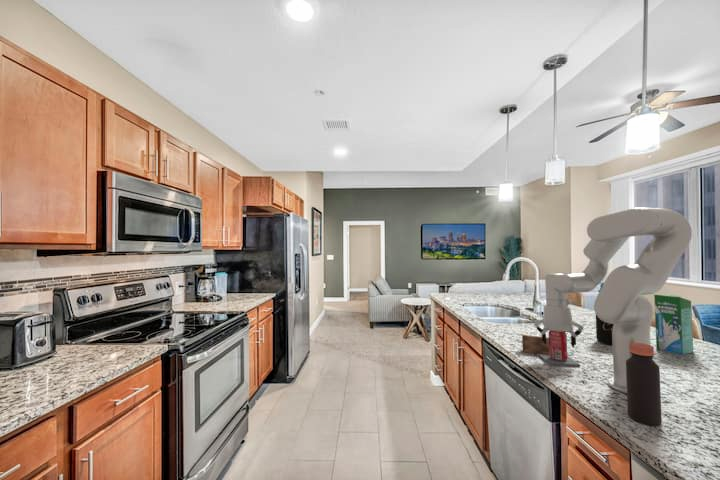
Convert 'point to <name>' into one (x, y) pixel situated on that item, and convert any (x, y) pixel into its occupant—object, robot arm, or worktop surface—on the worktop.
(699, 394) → the worktop surface
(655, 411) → the bottle
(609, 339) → the coffee jar
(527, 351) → the brown wooden block
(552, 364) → the mat
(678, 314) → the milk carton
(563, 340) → the beverage can
